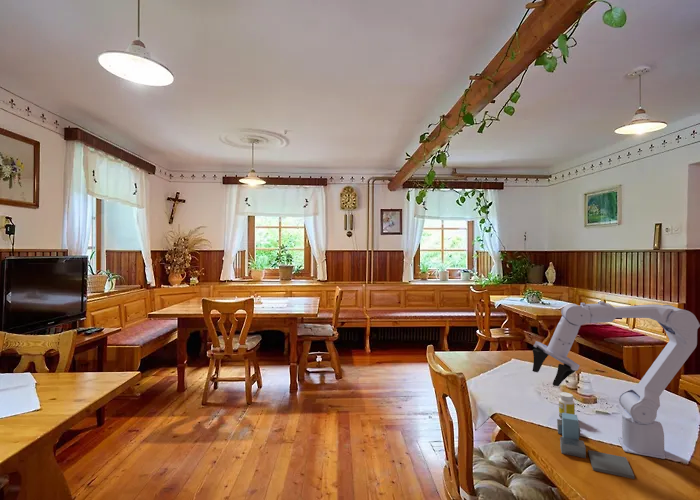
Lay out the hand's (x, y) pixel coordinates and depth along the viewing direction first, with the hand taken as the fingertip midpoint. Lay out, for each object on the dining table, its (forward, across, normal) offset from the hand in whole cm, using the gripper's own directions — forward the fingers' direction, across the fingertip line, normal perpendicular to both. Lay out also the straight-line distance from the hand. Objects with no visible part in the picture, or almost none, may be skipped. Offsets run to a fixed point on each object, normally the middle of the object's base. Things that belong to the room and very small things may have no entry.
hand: (544, 378), depth 115 cm
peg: (+15, +10, +8) cm, 20 cm away
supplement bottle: (+14, 0, +22) cm, 26 cm away
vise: (+15, +9, +9) cm, 20 cm away
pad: (+12, +22, +6) cm, 26 cm away
